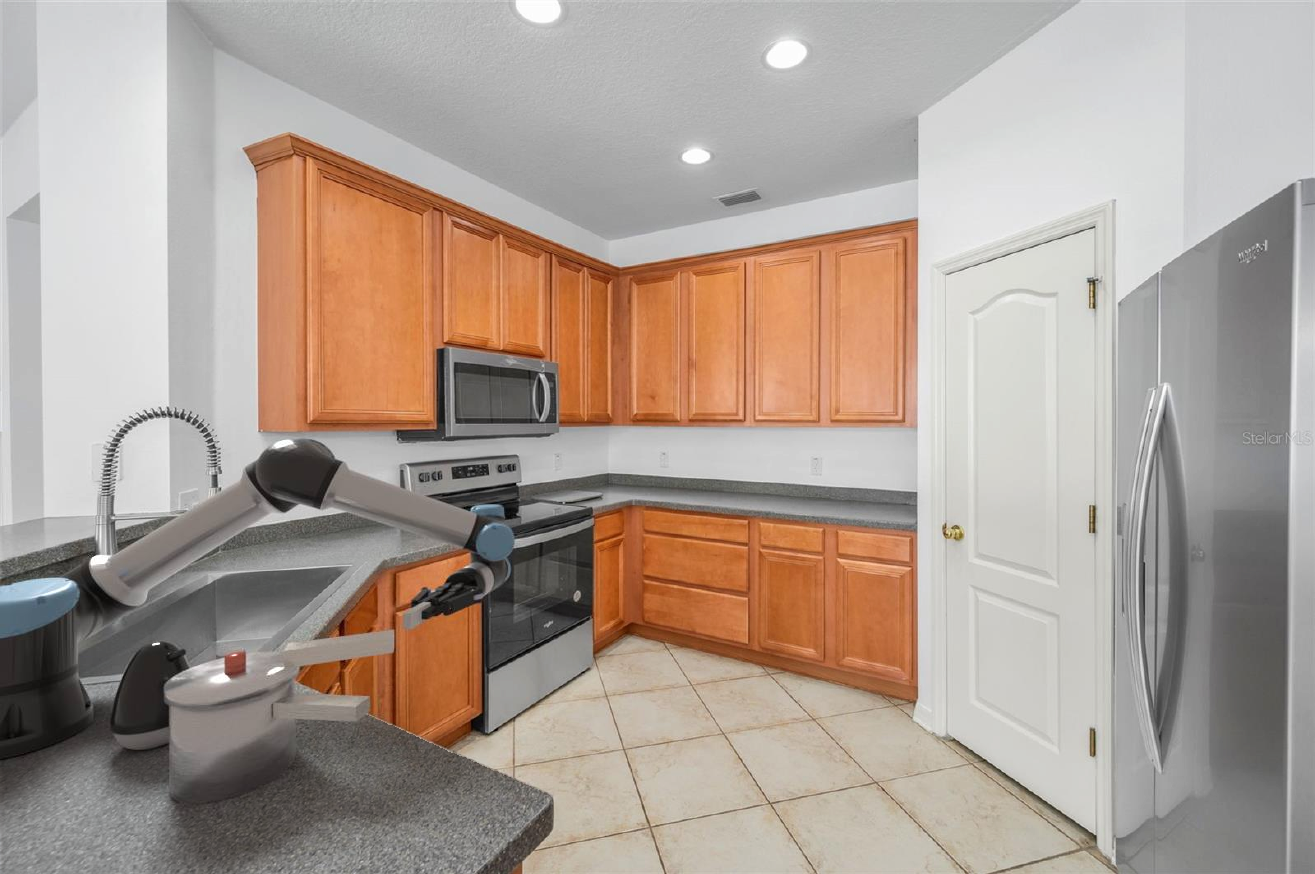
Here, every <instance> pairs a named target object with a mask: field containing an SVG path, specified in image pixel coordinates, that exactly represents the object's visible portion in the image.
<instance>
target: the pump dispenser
mask: <svg viewBox="0 0 1315 874" xmlns="http://www.w3.org/2000/svg"><path fill="white" fill-rule="evenodd" d="M186 654H187V650H186V648H185V649H184V648H181V649H180V647H178V646H177V645H176V644H175V643H173V642H171V641H167V640H157V641H152V642H150V643H147V644H144V645H143V646H141V647H140V648H139V649H138V650H137V651H136V652H135V653H134V655H133V656H132V658H131V659H130V660H129V662H128V664H127V665H126V667H125V669H124V671H123V673H122V676H121V679H120V681H119V684H118V687H117V689H116V693H115V695H114V699H113V702H112V703H113V704H112V708H111V713H110V720H109V730H110V732H111V733H112V734H113V736H114V738H115V740H116V742H117V743H118V744H119V746H121V747H124V748H125V749H129V750H134V751H143V750H144V751H145V750H151V749H152V750H153V749H155V748H158V747H159V748H160V747H162V746H165V745H168V744H169V705H167V704H166V703H165V702H164V685H165V684H166V682H167V681H168V680H170V679H171V678H172V677H174V676H175V675H177V674H179V673H181V672H183V671H185V670H188V669H190V668H191V666H190V663H189V661H188V659H187V657H186Z"/></svg>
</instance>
